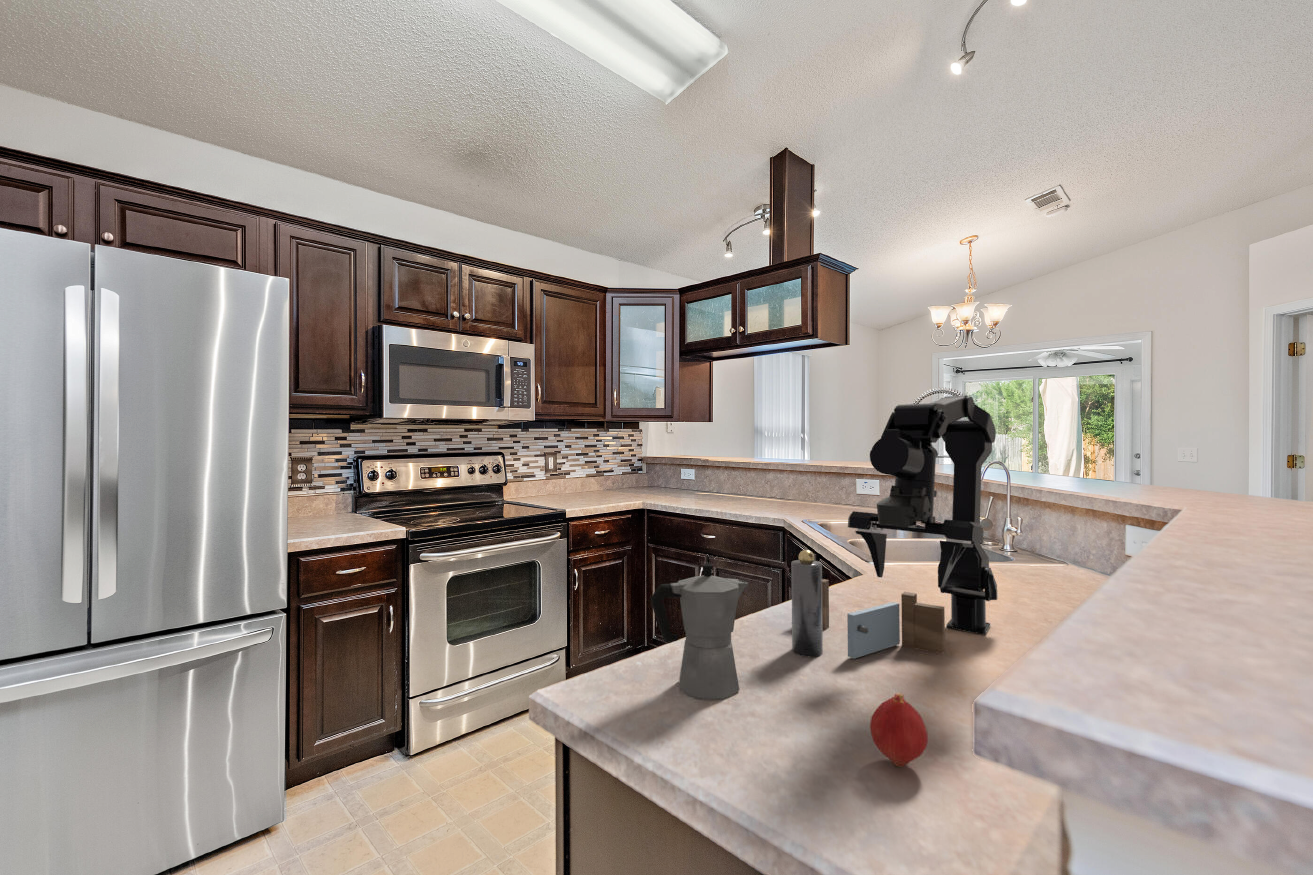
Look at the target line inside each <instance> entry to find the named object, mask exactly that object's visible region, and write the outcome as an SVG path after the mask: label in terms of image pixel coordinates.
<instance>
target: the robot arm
mask: <svg viewBox="0 0 1313 875" xmlns="http://www.w3.org/2000/svg"><path fill="white" fill-rule="evenodd" d="M994 423H995V422H994V420H993V418H992V416H991V414H990V413H989V412H987V410H985V409H983V408H981V407H980V406H978V405H977V404H976V402H975V401H974V398H973V396H970V395H969V396H968V395H964V394H963V395H962V394H961V395H948V396H944V397H941V398H940V399H939V400H935V401H933V402H929V403H909V404H898V405H896V406H895V407H894V409H893V411H892V412H891V414H890V415H889V418H888V421H887V423H886V426H885V427H884V429H883V432H882V434H881V436H880V438H879V439H878V440H877V441H875V443H874V444H873V446H872V447H871V450H870V452H869V461H870V464H871V466H872V467H873V468H874V470H876V471H877V472H878V473H880V474H884V475H887V476H891V477H894V485H891V488H890V490H889V492H890V493H889V496H888V497H884V498H883V499H881V500H880V501H878V502H877V503H876V510H877V513H876V512H865V511H854V510H853V511H852V512H851V513H850V514H849V516H848V518H847V528H850V529H857V530H855V531H854V532H855V535H860V536H861V537H862V539H863V540H864V542H865V544H866V545H867V548H868V550H869V553H870V556H871V560H872V563H873V566H874V571H875V573H876V576H877V578H883V576H884V570H885V565H886V563H885V561H886V551H887V550H886V549H887V539H888V538H887V537H888V534H887V533H881V532H882V531H883V530H884V529H885V530H894V531H905V532H913V533H922V534H930V535H939V536H944V538H945V540H939V546H940V559H939V562H938V566H937V587H938V588H939V591H940V593H941V594H949V595H950V596H951V597H950V601H951V602H950V603H951V604H950V607H951V608H950V609H951V610H950V612H951V613H950V614H951V615H950V617H951V618H950V620H949V621H948V622H947V623H946V624H945V625H946V626H945V627H946V628H947V629H952V630H958V631H963V632H968V633H974V634H979V635H986V634H987V632H988V631H989V629H990V627H991V623H990V622H987V620H986V618H987V617H986V616H987V614H986V610H987V609H986V606H987V605H986V604H987V603H986V602H991V601H997V600H998V584H997V581H996V579H995V577H994V573H993V570H992V568H991V567H990V558H989V556H988V553H986V551H985V549H984V548H983V547H982V545H981V543H984V528H983V526H982V525H981V499H982V498H981V496H982V495H981V494H982V493H981V492H982V468H983V467H982V466H983V464H985V462H986V460H988V458H989V457H990V456H991V454H992V451H993V444H994V443H995V441H996V436H997V435H996V432H997V431H996V426H995V424H994ZM941 438H942V441H943V442H944V448H945V452H946V454H947V455H948V457H949V458H950V460H951V462H952V463H953V484H952V486H953V488H952V512H951V513H952V518H951V519H944V521H943V523H941V522H940V523H939V522H936V516H934V506H935V505H934V501H935V498H937V496H938V494H937V492H938V490H935V479H936V464H937V463H936V461H937V457H939V453H938V451H937V450H938V449H936V448H935V447H934V446H933V444H934V443H935V444H936V443H937V442H938V440H939V439H941ZM932 443H933V444H932ZM918 522H920V523H921V524H924V525H917V523H918Z"/></svg>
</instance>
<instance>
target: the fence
mask: <svg viewBox="0 0 1313 875" xmlns="http://www.w3.org/2000/svg"><path fill="white" fill-rule="evenodd" d="M829 581H830V580H829V579H825V578H822V631H823V630H824V631H826V630H828V629H829V628H830V590H829V589H830V582H829ZM917 594H918V593H916V592H909V591H903V592H902V593H901V595H900V597H901V598H900V599H901V647H905V648H910V649H915V650H920V651H925V652H926V651H927V652H931V653H935V654H940V655H944V653H946V652H945V651H946V644H945V642H946V639H945V638H946V636H945V635H946V631H945V629H946V628H945V627H946V626H945V625H946V624H945V623H946V622H945V621H946V620H945V619H946V618H945V606H943V605H942V606H941V605H937V604H929V603H922V602H919V601H917V600H918V595H917Z"/></svg>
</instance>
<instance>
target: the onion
mask: <svg viewBox="0 0 1313 875" xmlns="http://www.w3.org/2000/svg"><path fill="white" fill-rule="evenodd" d="M869 727H870V734H871V737H872V742H873V743H874V745H875V746H876V748H877V749H878V750H879V751H880V752H881V753H882V755H884V757H886V758H887V759H888V760H889V761H891V762H892V764H893V765H894V766H897V767H899V768H901V767H905V766H906V765H908V763H911V762H912V761H914V760H916V759H918V758H919V757H921V755H922V754H923V753H924V751H925V750H926V749H927V746H928V741H929V737H928V731H927V728H926V725H925V721H924V720H923V717H922V716H921V715H920V713H919V712H918V711H917V710H916V709H915V708H914V707H913V706H912V705H911V704H910V702H908V701H906V700H905V698H904V695H903V693H900V692H899V693H898V692H896V693H895V694H894V696H893V697H891V698H888V699H887V700H884V701H883V702H882V703H880V704H879V706H878V707H877V708H876V709H875V711H874V712H873V714H872V715H871V719H870V724H869Z"/></svg>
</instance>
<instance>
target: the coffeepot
mask: <svg viewBox="0 0 1313 875" xmlns="http://www.w3.org/2000/svg"><path fill="white" fill-rule="evenodd" d="M701 566H702V570H703V574H704V575H698V576H697V575H696V576H692V577H688V578H685V579H680V580H678V581H677V582H673V583H662V584H660V585H659V586H658V587H657V589H656V590H655V591H654V592H653V594H652V595H651V598H650V605H651V608H652V610H653V612H654V616H655V619H656V621H657V625H658V627H659V630H660V632H661V633H660V634H661V636H662V639H663V640H664V641H665V642H677V641H678V639H679V634H678V633H671V631H670V630H671V629H670V621H669V620H668V618H667V612H666V606H665V604H664V602H663V600H664V599H665V598H679V602H680V603H679V604H680V608H681V617H682V622H683V628H684V630H683V631H684V632H685V639H684V645H683V651H682V652H683V653H682V658H681V659H682V660H681V666H680V672H679V679H678V680H679V682H678V683H679V684H678V685H679V687H678V689H679V691H680V692H682V693H683V694H684V695H686V696H688V697H690V698H692V697H693V699H696V700H702V701H720V700H724V699H729V698H731V697H733V696H735V695H736V694H737V693H738V692H739V691H740V686H739V685H740V684H739V680H738V673H737V667H736V666H737V665H736V661H735V654H734V647H733V643H732V633H733V632H734V628H735V622H736V614H737V607H738V606H737V605H738V601H739V600H740V598H741V596H742V594H743V591H744V590H745V588H746V587H747V586H749V585H750V584H749V583H748V582H747V581H745V580H743V579H742V580H741V579H738V578H737V579H736V578H729V577H728V578H726V577H720V576H714V575H712V574H713V567H714V564H712V563H710V562H709V563H707V562H705V563H704V564H702V565H701Z"/></svg>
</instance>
